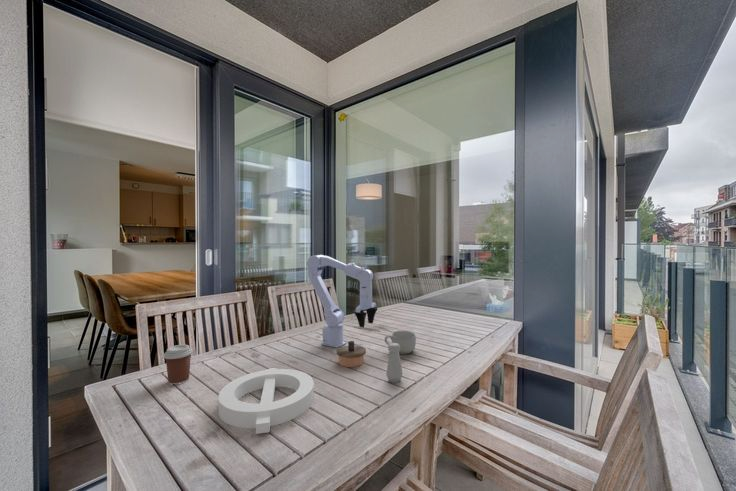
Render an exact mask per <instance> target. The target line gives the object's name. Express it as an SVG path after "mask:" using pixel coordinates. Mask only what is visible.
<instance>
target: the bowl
mask: <svg viewBox="0 0 736 491" xmlns="http://www.w3.org/2000/svg"><path fill="white" fill-rule="evenodd" d="M338 364H339V365H340V366H343V367H345V368H353V367H354V368H355V367H359V366H362V365H363V364H364V355H363V356H360V357H355V358H346V357H341V356H339V355H338Z"/></svg>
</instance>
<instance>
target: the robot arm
mask: <svg viewBox="0 0 736 491" xmlns="http://www.w3.org/2000/svg"><path fill="white" fill-rule="evenodd" d="M306 266H307V277H308V279H309V280H310V283H311V285H312V287H313V289H314V291H315V293H316V295H317V297H318V300H319V301H320V303H321V305H322V307H323V309H324V310H323V316H324V318H325V325H324V326H323V328H322V343H321V345H322V346H326V347H332V348H336V349H338V348H340V347H343V346H345V345H347V343H348V341H344V324H343V321H344V320H345V316H346V315H345V313H344V311H342V310H341V309H340V307H339V306H338V305H337V304H335V302H334V299H333V298H332V296H331V294H330V292H329V290H328V288H327V286H326V284H325V282H324V280H323V278H322V276H321V274H322V273H323V270H324V269H325V267H327V266H328V267H331V268H335V269H337V270H340V271H343V272H344V275H346V276H348V277H351V278H352V279H356V280H358V281H359V305H358V306H357V307H355V310H354V315H355V317H356V319H357V322H358V326H359V327H360V328H365V323H366V317H367V323H368V324H374V320H375V315H376V313H377V311H378V307H377V302H373V282H372V280H373V278H374V273H373V271H372V270H370V269H369V268H366V269H365V267H364V266H363V267H361V266H358V265H356V263H354V262H352V263H351V262H350V263H347V264H346V263H344V262H342V261H339V260H337V259H335V258H333V257H331V256H329V255H324V254H316V255H315V254H314V255H311V256H309V257H308V259H307V261H306ZM364 311H365V312H364Z"/></svg>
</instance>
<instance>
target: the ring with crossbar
mask: <svg viewBox="0 0 736 491" xmlns="http://www.w3.org/2000/svg"><path fill="white" fill-rule="evenodd" d="M314 386H315V382H314V379H313V378H312V377H311V376H310V374H308V373H306V372H304V371H300V370H297V369H291V368H277V367H273V368H272V367H271V368H270V367H269V368H266V369H264V370H259V371H254V372H251V373H247V374H245V375H241V376H239V377H237V378H235V379H234V380H232V381H230V382H228V383H227V384H225V386H223V387H222V389H220V390H219V393H218V396H217V399H218V400H217V401H218V416H219V418H220V419H221V421H223V422H224V423H226V424H227V425H230V426H232V427H237V428H242V429H255V435H258V434H259V435H260V434H265V433H270V431H271V430H270V429H271V427H273V426H277V425H281V424H284V423H287V422H289V421H291V420H293V419H296V418H298V417H299V416H301V415H303V413H305V412H306V411H307V410H309V408H310V407H311V406H312V405H313V403H314V399H315V387H314ZM278 387H279V388H288V389H290V390H291V389H292V390H293V391H295V392H293V393H292V394H290V395H288V396H286V397H283V398H281V399H277V400H275V398H274V397H275V390H276V388H278ZM258 390H262V393H261V397H260V402H259V403H250V402H244V401H241V400H240V399H242V398H243V397H245V396H246V395H248V394H250V393H252V391H253V392H255V391H258ZM249 392H250V393H249ZM247 393H248V394H247ZM245 394H246V395H245ZM242 396H243V397H242ZM274 400H275V401H274Z"/></svg>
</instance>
